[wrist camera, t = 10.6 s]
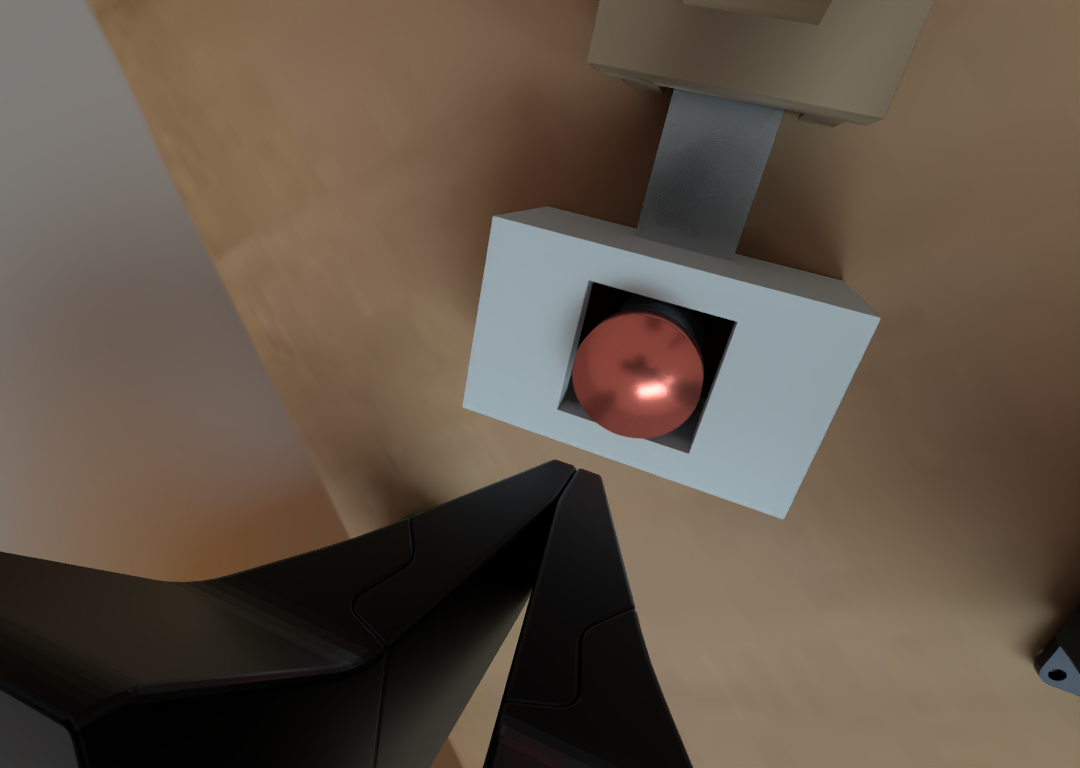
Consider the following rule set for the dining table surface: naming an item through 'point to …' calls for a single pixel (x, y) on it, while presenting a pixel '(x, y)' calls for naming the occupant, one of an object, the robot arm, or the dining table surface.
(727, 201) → the rail
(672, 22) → the carriage
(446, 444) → the dining table surface
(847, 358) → the button housing
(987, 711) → the dining table surface
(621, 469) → the dining table surface
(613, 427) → the plunger
